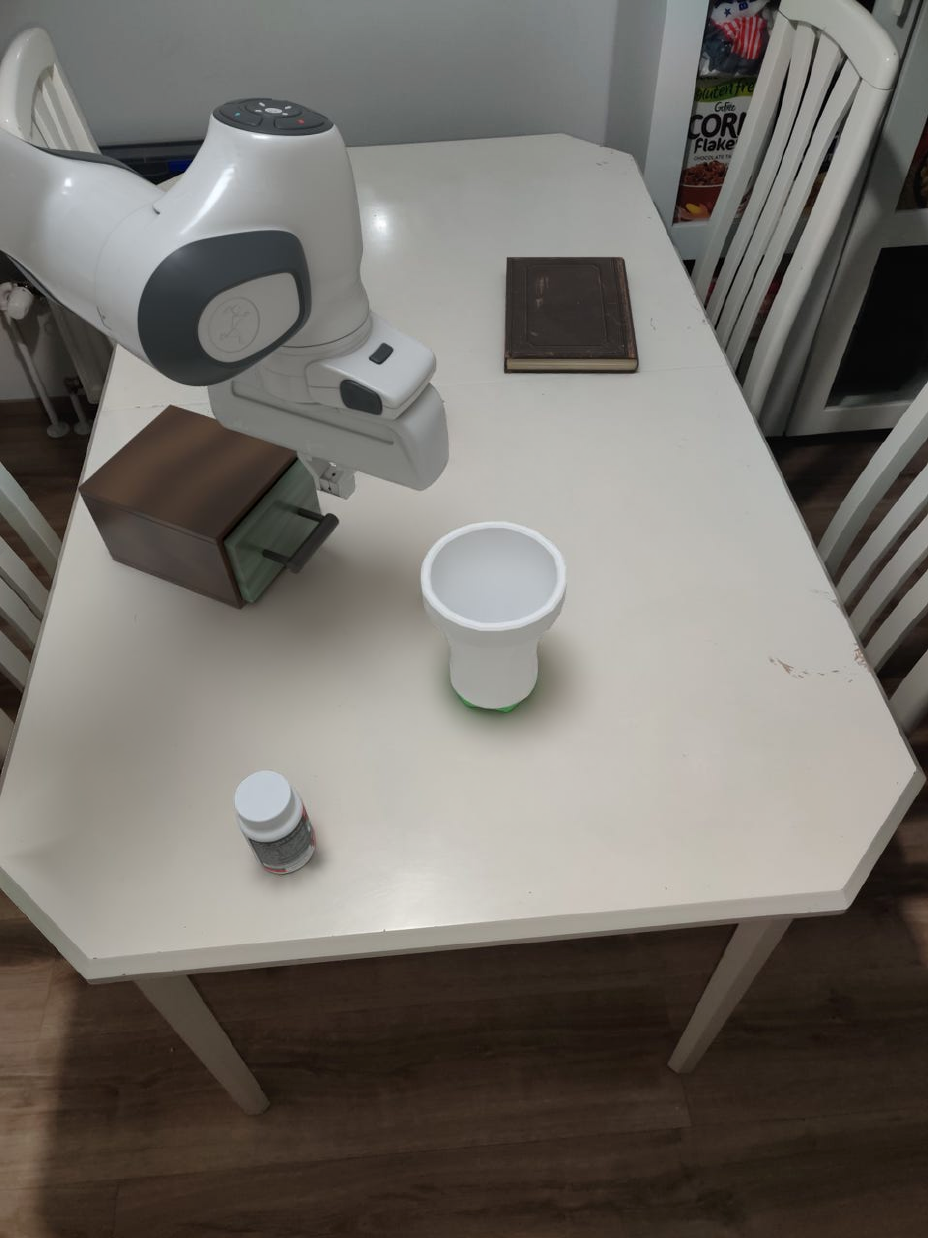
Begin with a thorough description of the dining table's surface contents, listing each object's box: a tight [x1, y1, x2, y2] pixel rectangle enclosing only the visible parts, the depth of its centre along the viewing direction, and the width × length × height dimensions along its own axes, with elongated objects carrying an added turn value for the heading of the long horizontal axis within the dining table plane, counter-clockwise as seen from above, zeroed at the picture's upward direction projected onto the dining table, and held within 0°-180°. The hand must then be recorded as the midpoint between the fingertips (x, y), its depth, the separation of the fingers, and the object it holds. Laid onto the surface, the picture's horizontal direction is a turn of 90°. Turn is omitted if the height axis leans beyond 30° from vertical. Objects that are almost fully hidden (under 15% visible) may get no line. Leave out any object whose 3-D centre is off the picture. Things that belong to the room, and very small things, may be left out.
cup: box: [419, 521, 568, 713], centre depth 71 cm, size 11×11×14 cm
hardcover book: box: [503, 256, 640, 374], centre depth 111 cm, size 16×23×2 cm
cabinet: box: [77, 404, 299, 610], centre depth 85 cm, size 16×14×10 cm
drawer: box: [222, 459, 340, 604], centre depth 84 cm, size 19×12×8 cm, turn 64°
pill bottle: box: [233, 769, 317, 875], centre depth 64 cm, size 5×5×8 cm
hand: (336, 490), depth 74 cm, fingers closed
